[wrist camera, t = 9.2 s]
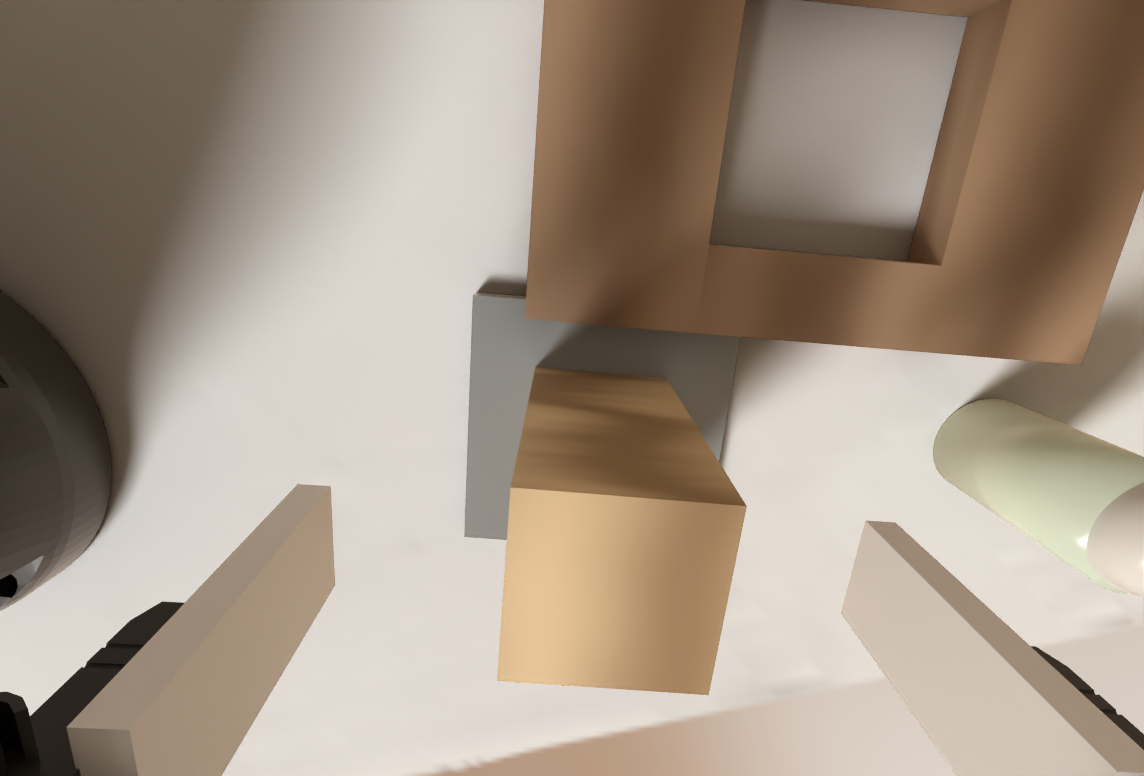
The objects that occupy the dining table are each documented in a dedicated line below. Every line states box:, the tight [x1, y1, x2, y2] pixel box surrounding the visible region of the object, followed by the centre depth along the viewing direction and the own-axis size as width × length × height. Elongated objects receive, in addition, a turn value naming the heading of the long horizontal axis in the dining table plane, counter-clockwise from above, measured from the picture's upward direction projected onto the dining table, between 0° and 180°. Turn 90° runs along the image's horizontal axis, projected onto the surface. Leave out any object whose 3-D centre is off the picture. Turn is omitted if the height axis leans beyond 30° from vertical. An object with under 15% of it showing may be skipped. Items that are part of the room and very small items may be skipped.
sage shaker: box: [933, 398, 1144, 597], centre depth 19 cm, size 4×4×9 cm
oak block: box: [497, 367, 747, 695], centre depth 17 cm, size 5×5×10 cm
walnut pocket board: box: [525, 0, 1144, 365], centre depth 19 cm, size 20×14×2 cm
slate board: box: [464, 292, 741, 540], centre depth 23 cm, size 10×10×1 cm
